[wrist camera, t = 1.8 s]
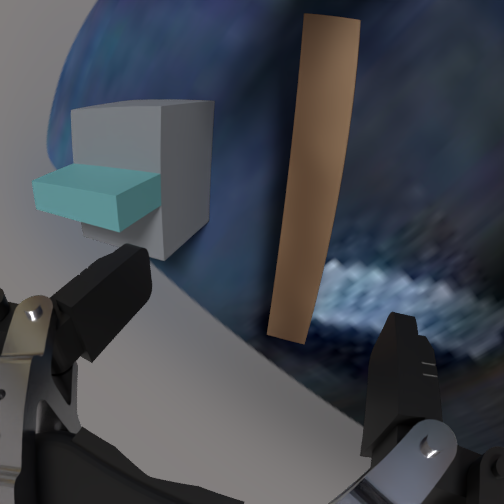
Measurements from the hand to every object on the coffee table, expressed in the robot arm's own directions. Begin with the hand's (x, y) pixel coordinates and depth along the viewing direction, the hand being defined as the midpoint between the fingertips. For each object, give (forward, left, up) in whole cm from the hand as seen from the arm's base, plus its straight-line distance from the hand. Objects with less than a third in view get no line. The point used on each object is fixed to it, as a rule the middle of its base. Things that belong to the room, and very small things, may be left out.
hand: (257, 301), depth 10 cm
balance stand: (+12, 0, -14) cm, 19 cm away
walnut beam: (0, 0, -15) cm, 15 cm away
